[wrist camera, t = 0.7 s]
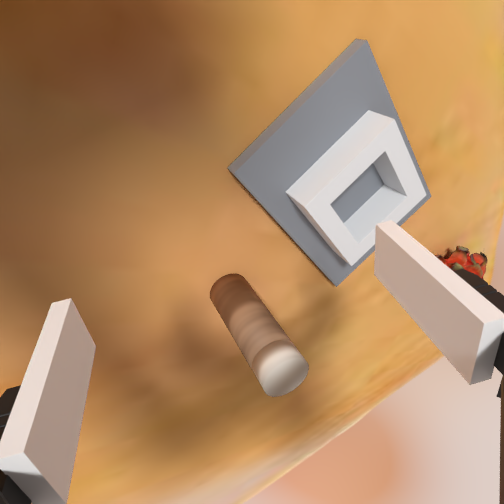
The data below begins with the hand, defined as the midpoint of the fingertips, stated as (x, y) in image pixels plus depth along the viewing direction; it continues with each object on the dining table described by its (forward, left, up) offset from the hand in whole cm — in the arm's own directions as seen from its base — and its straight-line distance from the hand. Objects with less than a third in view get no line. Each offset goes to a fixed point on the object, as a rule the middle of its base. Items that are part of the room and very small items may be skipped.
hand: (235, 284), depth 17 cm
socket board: (+18, +12, -19) cm, 29 cm away
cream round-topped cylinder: (+18, -5, -19) cm, 26 cm away
